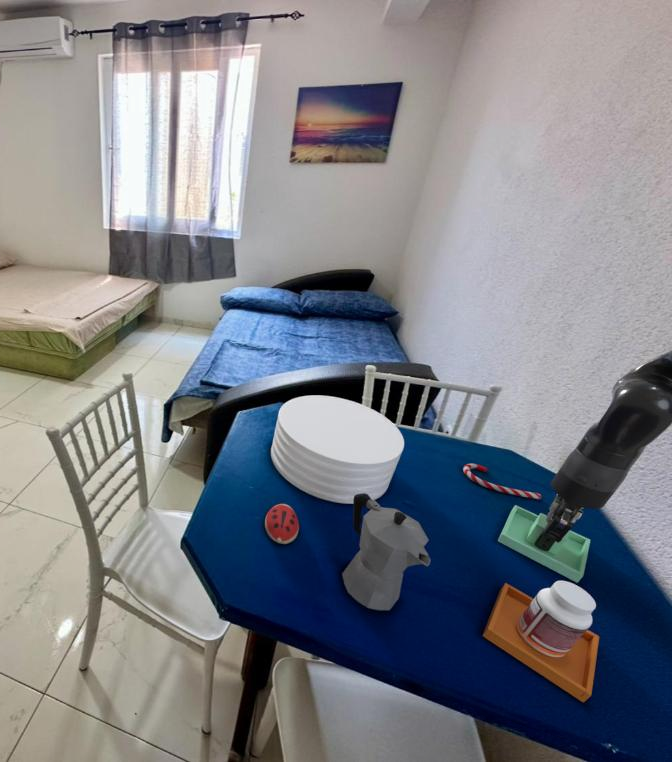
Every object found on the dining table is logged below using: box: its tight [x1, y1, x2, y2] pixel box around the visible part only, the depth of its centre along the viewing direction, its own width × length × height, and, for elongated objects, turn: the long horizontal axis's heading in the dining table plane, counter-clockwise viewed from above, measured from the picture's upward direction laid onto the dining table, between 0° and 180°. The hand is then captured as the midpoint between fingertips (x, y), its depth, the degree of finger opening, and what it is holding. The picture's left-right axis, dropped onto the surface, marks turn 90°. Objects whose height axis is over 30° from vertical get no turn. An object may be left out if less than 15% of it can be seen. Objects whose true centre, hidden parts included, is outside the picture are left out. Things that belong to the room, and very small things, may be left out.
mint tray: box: [497, 504, 591, 584], centre depth 82 cm, size 12×12×2 cm
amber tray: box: [482, 582, 600, 704], centre depth 65 cm, size 12×12×2 cm
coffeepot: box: [341, 493, 431, 611], centre depth 69 cm, size 15×9×18 cm, turn 16°
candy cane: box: [462, 463, 542, 500], centre depth 97 cm, size 8×1×15 cm
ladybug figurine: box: [264, 503, 300, 545], centre depth 83 cm, size 7×10×4 cm
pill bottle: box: [517, 580, 597, 657], centre depth 62 cm, size 6×6×11 cm
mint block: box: [526, 512, 569, 555], centre depth 81 cm, size 5×5×5 cm
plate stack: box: [270, 394, 405, 505], centre depth 100 cm, size 28×28×12 cm
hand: (543, 540), depth 81 cm, fingers closed on mint block, 4 cm apart
